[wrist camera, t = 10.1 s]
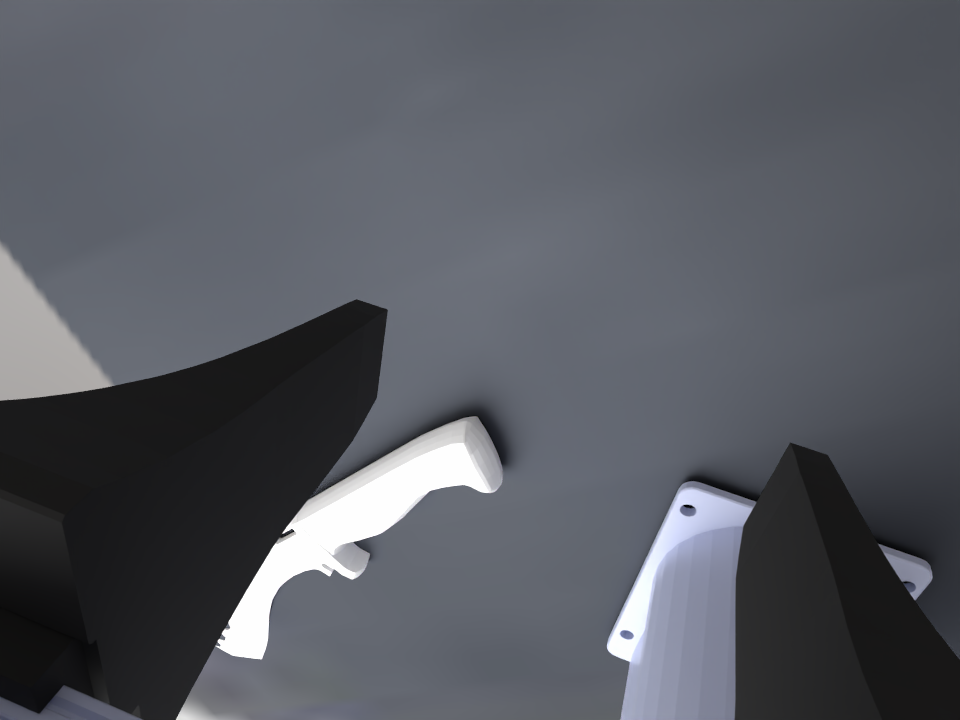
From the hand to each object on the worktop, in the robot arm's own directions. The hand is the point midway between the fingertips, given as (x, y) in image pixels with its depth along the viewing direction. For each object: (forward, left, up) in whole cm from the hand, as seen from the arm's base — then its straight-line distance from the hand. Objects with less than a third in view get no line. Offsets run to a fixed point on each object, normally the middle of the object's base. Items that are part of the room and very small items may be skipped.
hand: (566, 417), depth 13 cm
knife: (-22, +9, -10) cm, 26 cm away
